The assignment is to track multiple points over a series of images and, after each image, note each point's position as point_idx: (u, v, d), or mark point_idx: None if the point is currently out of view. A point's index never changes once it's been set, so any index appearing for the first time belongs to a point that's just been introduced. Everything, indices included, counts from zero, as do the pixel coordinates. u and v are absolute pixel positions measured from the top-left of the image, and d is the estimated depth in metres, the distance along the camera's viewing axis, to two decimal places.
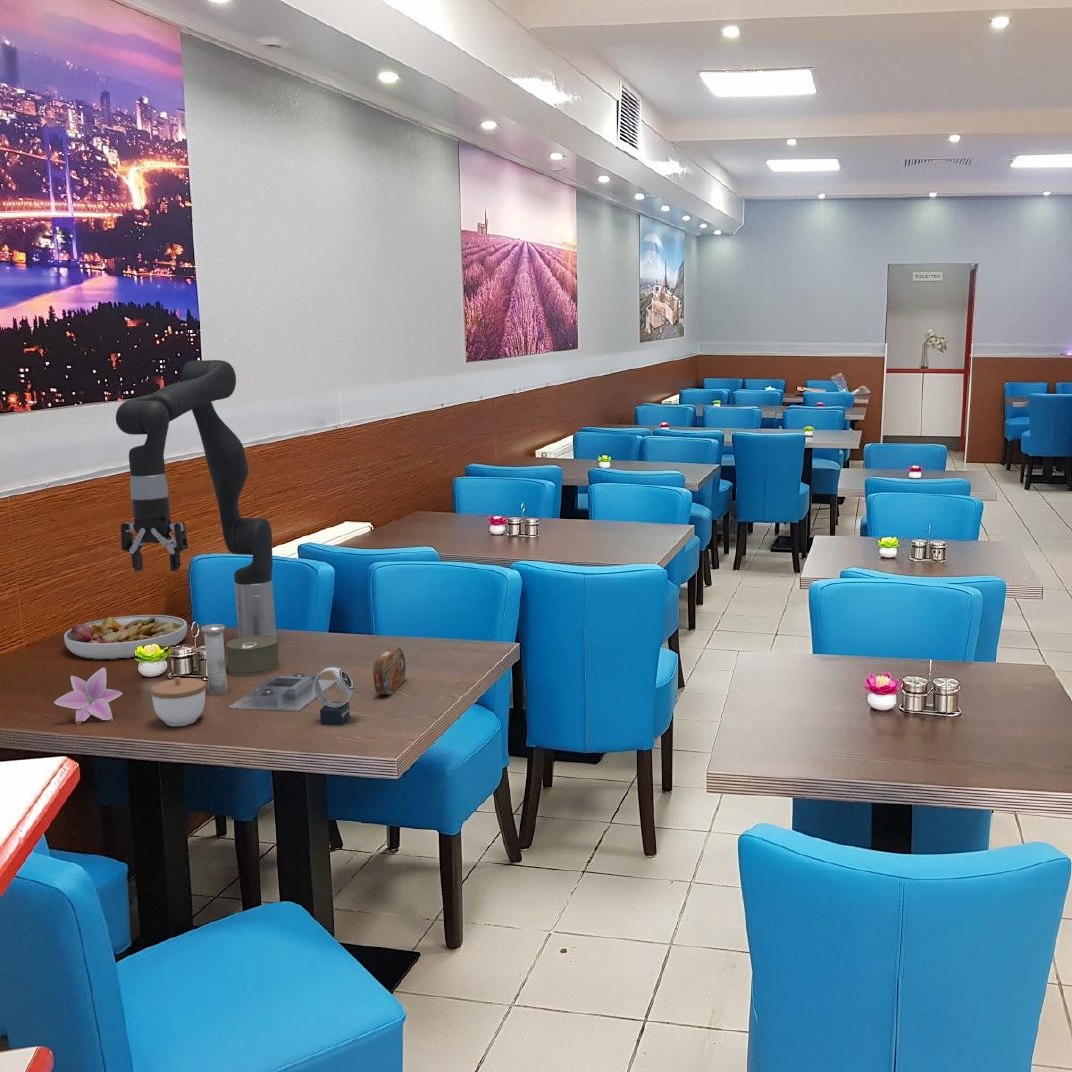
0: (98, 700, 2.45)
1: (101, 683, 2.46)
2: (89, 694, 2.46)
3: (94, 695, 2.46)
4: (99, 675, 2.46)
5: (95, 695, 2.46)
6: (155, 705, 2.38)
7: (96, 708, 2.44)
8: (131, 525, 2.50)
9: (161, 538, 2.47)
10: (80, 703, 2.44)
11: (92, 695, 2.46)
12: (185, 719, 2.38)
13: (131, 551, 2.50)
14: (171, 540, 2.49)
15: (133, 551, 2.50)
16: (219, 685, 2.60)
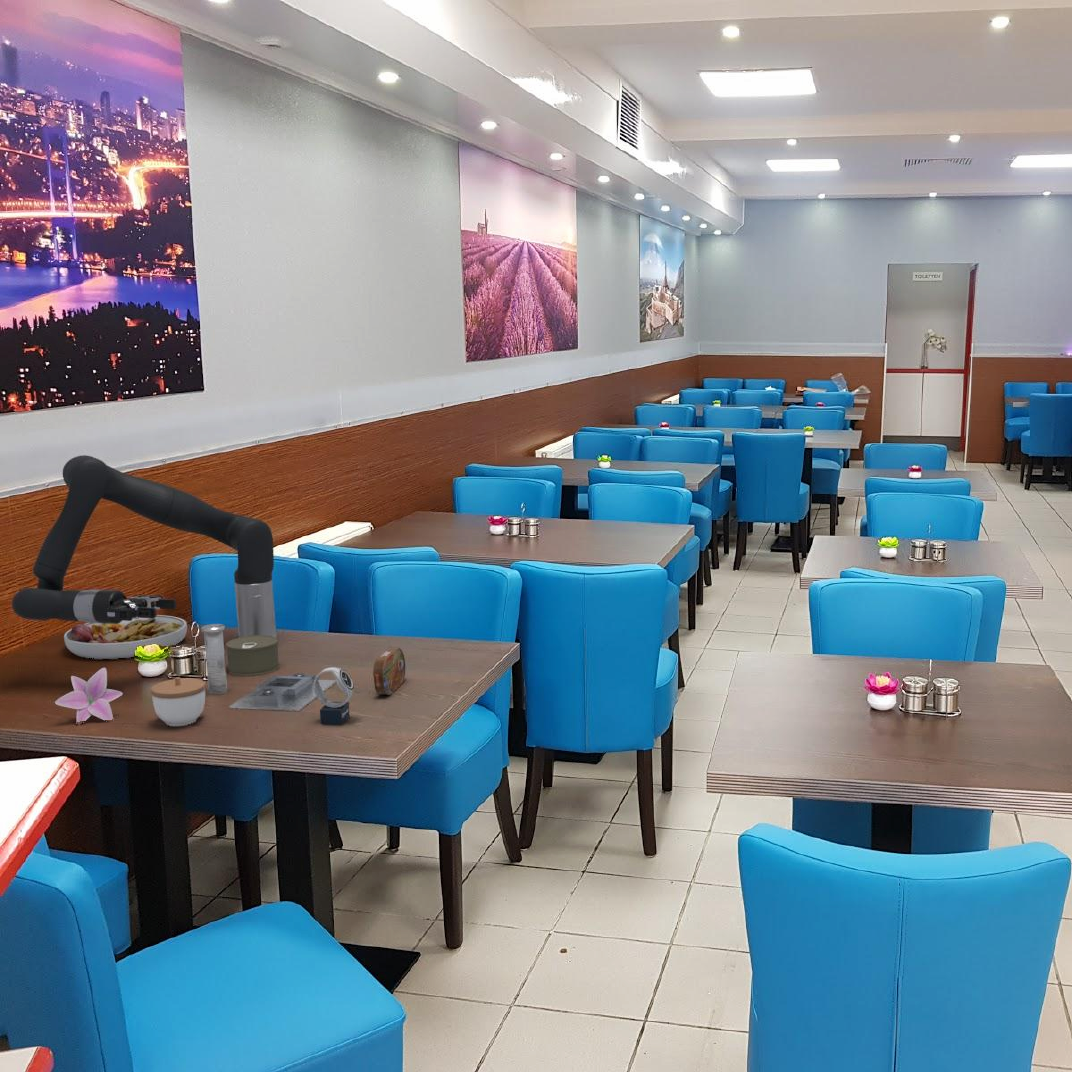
0: (98, 700, 2.45)
1: (101, 683, 2.46)
2: (90, 694, 2.46)
3: (95, 695, 2.46)
4: (100, 675, 2.46)
5: (96, 695, 2.46)
6: (155, 705, 2.38)
7: (97, 708, 2.44)
8: None
9: None
10: (81, 703, 2.43)
11: (93, 695, 2.46)
12: (185, 719, 2.38)
13: None
14: None
15: (158, 608, 2.66)
16: (219, 685, 2.60)
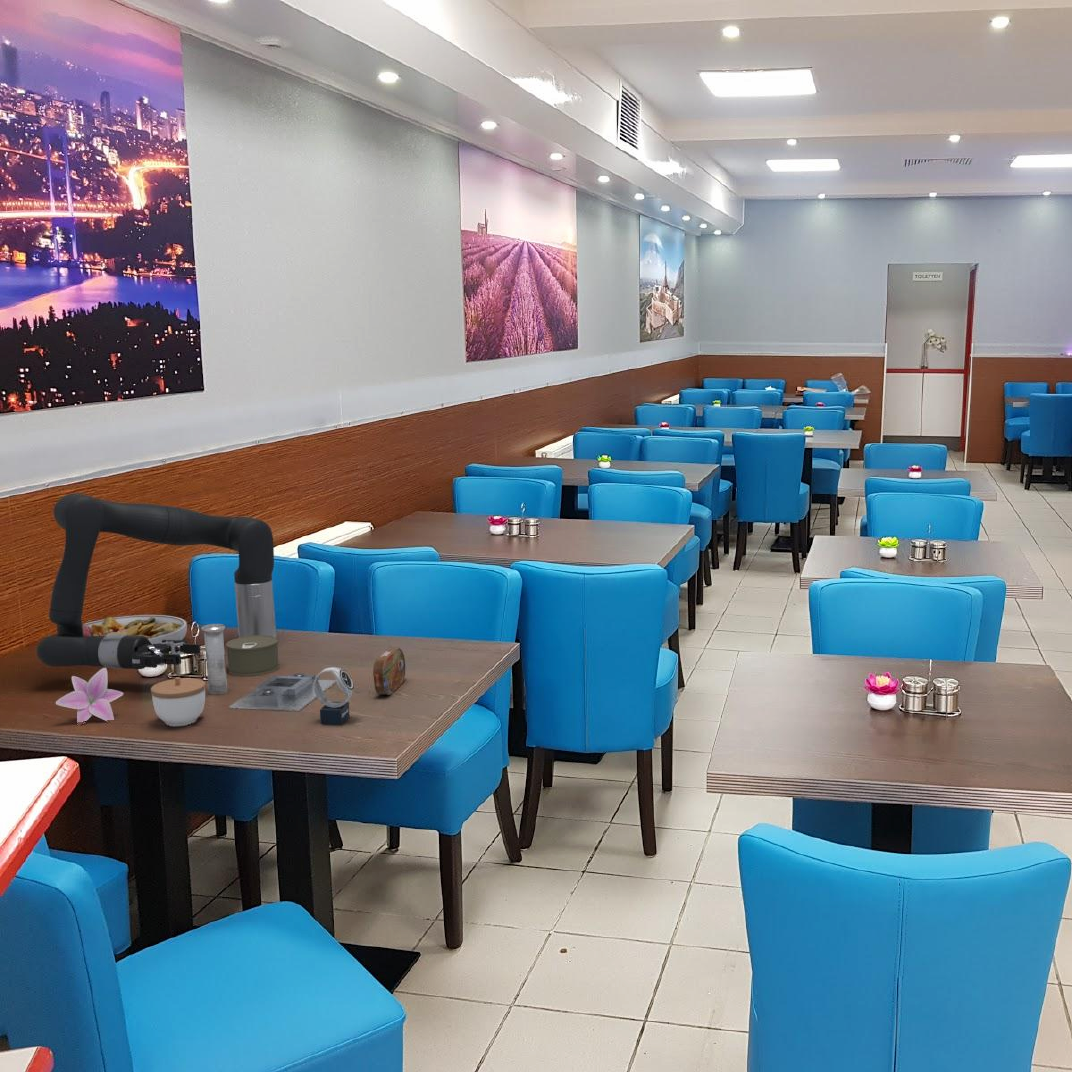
0: (99, 700, 2.45)
1: (102, 683, 2.46)
2: (90, 694, 2.46)
3: (96, 696, 2.46)
4: (100, 675, 2.46)
5: (96, 695, 2.46)
6: (155, 705, 2.38)
7: (98, 708, 2.44)
8: None
9: None
10: (81, 703, 2.43)
11: (93, 695, 2.46)
12: (185, 719, 2.38)
13: None
14: None
15: (182, 653, 2.67)
16: (219, 685, 2.60)
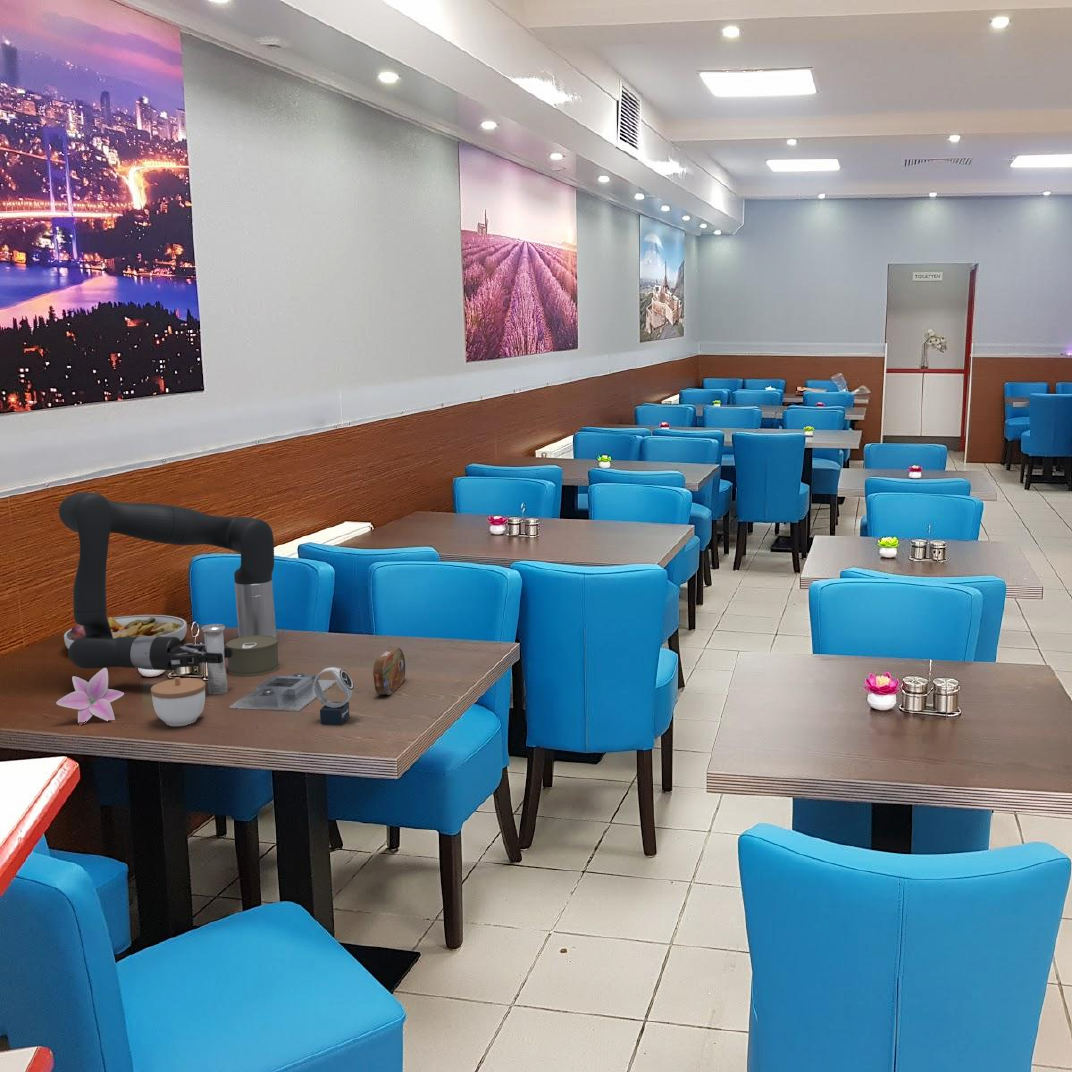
0: (100, 700, 2.45)
1: (103, 683, 2.46)
2: (91, 694, 2.45)
3: (96, 696, 2.46)
4: (101, 675, 2.46)
5: (97, 695, 2.46)
6: (155, 705, 2.38)
7: (98, 708, 2.44)
8: None
9: None
10: (82, 703, 2.43)
11: (94, 695, 2.46)
12: (185, 719, 2.38)
13: None
14: None
15: None
16: (219, 685, 2.60)
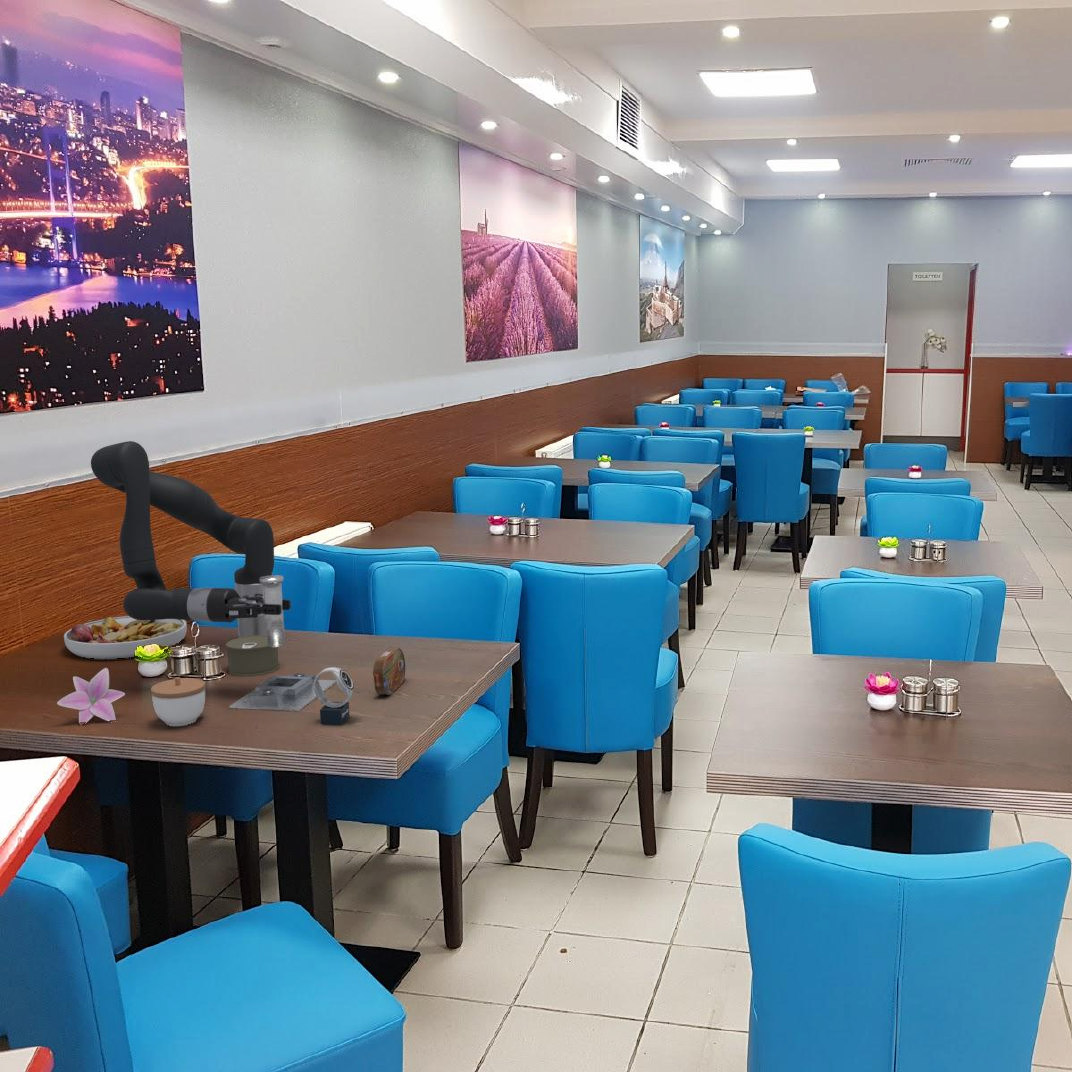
0: (100, 701, 2.45)
1: (104, 683, 2.46)
2: (92, 695, 2.45)
3: (97, 696, 2.46)
4: (102, 675, 2.46)
5: (98, 696, 2.46)
6: (155, 705, 2.38)
7: (99, 708, 2.43)
8: None
9: None
10: (83, 704, 2.43)
11: (95, 696, 2.46)
12: (185, 719, 2.38)
13: None
14: None
15: None
16: (277, 638, 2.54)
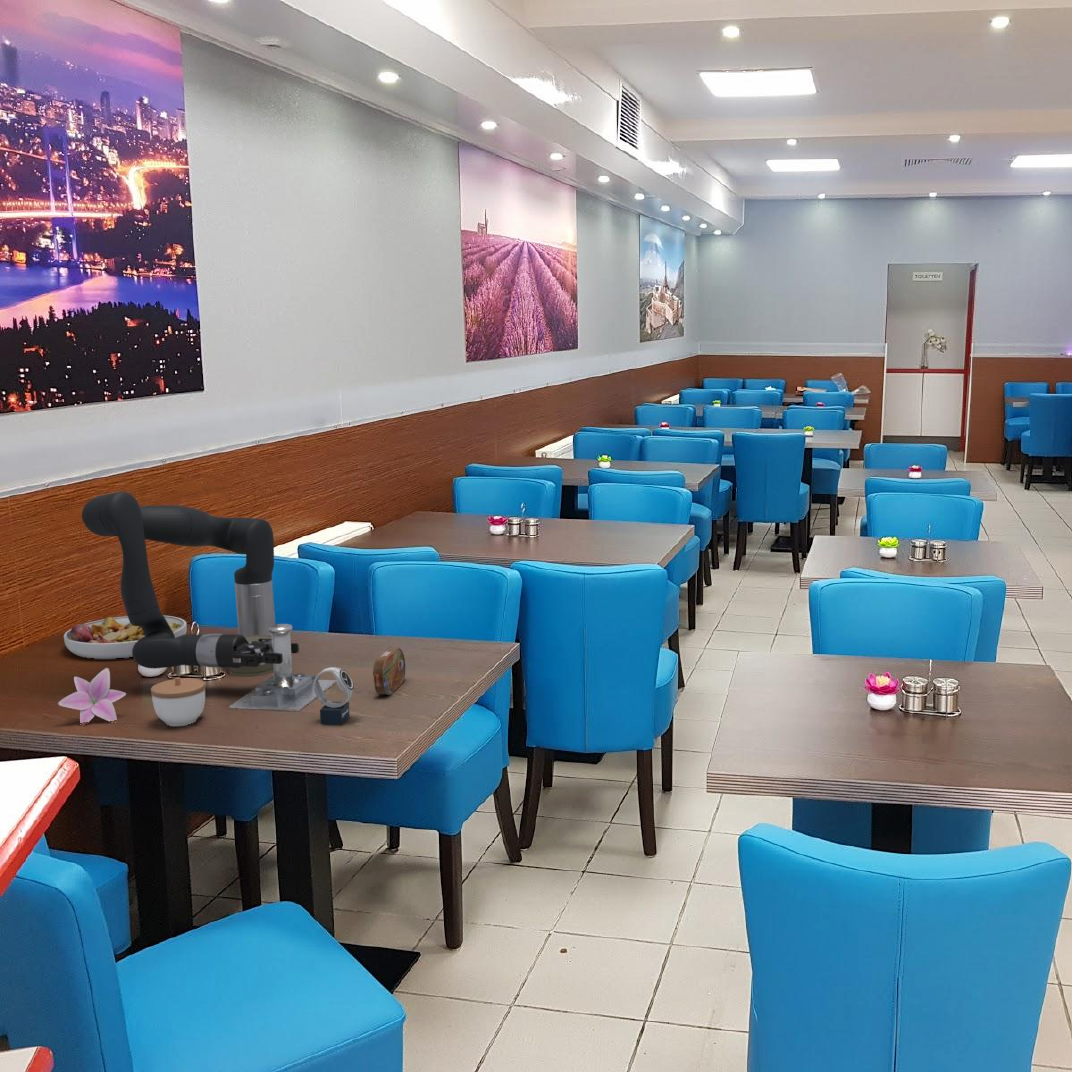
0: (101, 701, 2.45)
1: (104, 683, 2.45)
2: (93, 695, 2.45)
3: (98, 696, 2.45)
4: (103, 676, 2.46)
5: (99, 696, 2.45)
6: (155, 705, 2.38)
7: (100, 709, 2.43)
8: None
9: None
10: (84, 704, 2.43)
11: (96, 696, 2.45)
12: (185, 719, 2.38)
13: None
14: None
15: None
16: (286, 686, 2.56)
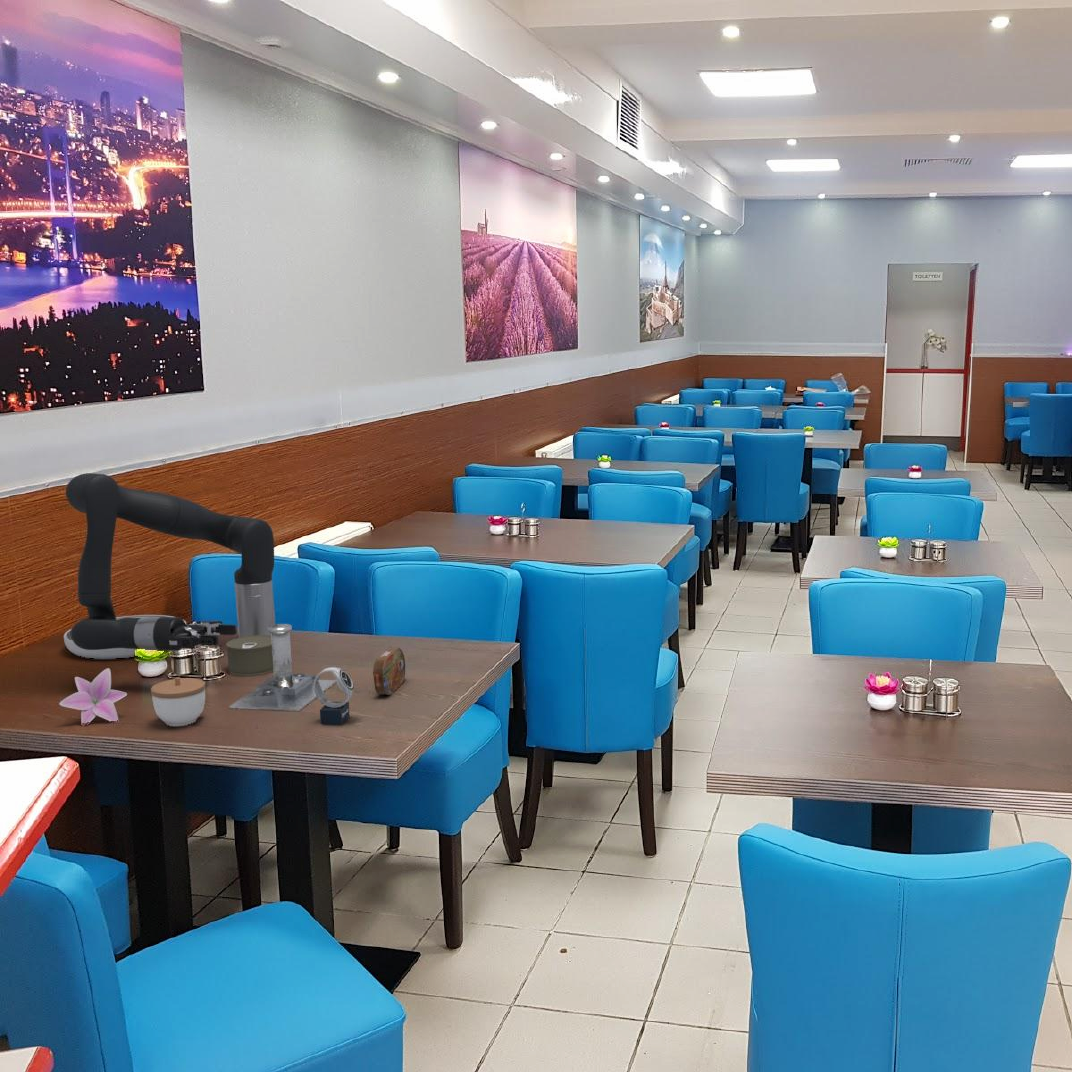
0: (103, 701, 2.45)
1: (106, 684, 2.45)
2: (94, 695, 2.45)
3: (99, 696, 2.45)
4: (104, 676, 2.46)
5: (100, 696, 2.45)
6: (155, 705, 2.38)
7: (102, 709, 2.43)
8: None
9: None
10: (85, 704, 2.43)
11: (97, 696, 2.45)
12: (185, 719, 2.38)
13: None
14: None
15: (218, 634, 2.64)
16: (286, 686, 2.56)
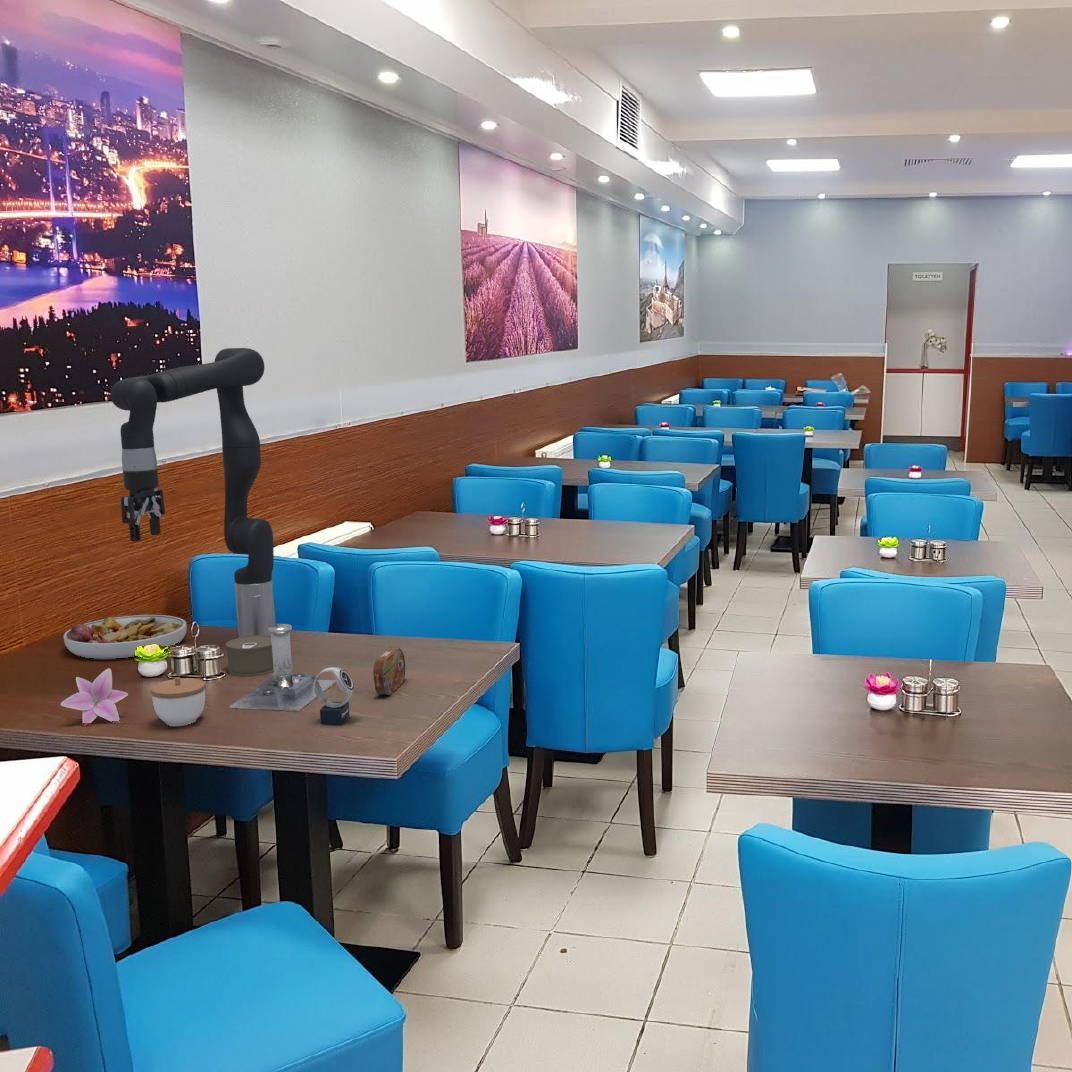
0: (104, 701, 2.45)
1: (107, 684, 2.45)
2: (95, 695, 2.45)
3: (100, 696, 2.45)
4: (105, 676, 2.46)
5: (101, 696, 2.45)
6: (155, 705, 2.38)
7: (103, 709, 2.43)
8: None
9: None
10: (86, 704, 2.43)
11: (98, 696, 2.45)
12: (185, 719, 2.38)
13: None
14: (135, 512, 2.64)
15: None
16: (286, 686, 2.56)
